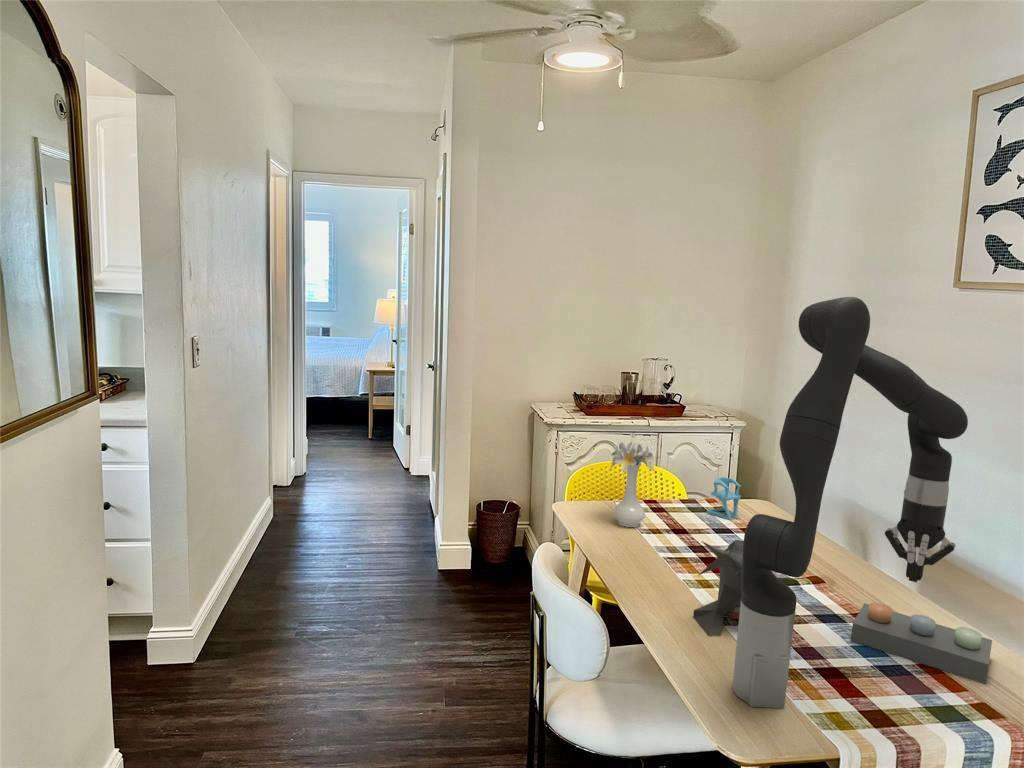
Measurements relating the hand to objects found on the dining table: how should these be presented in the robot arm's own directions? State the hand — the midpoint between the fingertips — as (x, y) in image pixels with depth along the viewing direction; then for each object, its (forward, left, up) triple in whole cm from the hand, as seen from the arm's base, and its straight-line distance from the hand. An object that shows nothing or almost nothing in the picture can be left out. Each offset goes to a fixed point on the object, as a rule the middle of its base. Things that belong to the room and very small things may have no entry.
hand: (913, 580), depth 144 cm
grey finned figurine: (+11, +33, -16) cm, 38 cm away
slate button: (+1, -4, -11) cm, 12 cm away
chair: (+80, +13, -16) cm, 82 cm away
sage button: (-4, -10, -11) cm, 16 cm away
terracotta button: (+5, +3, -11) cm, 13 cm away
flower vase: (+69, +46, -16) cm, 84 cm away
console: (+1, -4, -15) cm, 16 cm away
